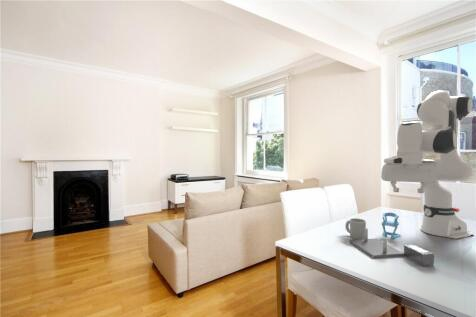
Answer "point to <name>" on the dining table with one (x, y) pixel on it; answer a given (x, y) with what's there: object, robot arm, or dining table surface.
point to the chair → (389, 223)
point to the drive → (419, 255)
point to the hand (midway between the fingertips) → (408, 192)
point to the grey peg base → (376, 247)
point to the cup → (356, 228)
